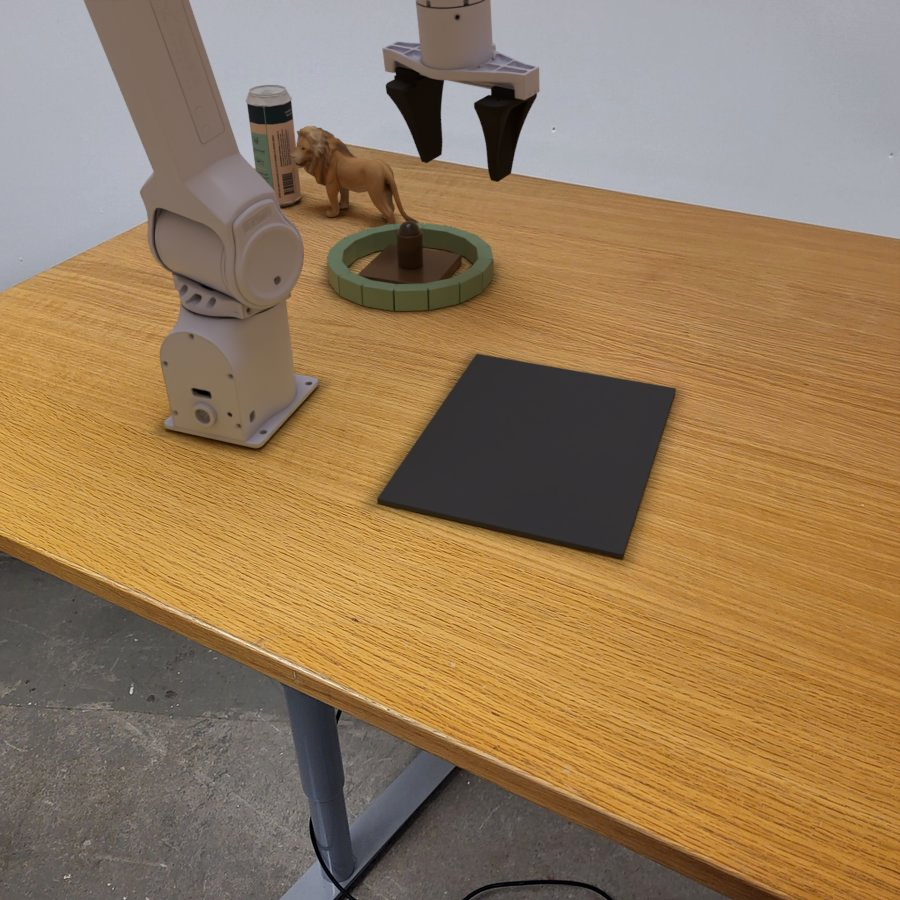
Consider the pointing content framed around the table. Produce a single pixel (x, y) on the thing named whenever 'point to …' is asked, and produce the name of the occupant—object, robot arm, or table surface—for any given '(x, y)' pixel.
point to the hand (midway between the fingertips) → (465, 167)
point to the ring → (410, 294)
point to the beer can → (274, 140)
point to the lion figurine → (346, 172)
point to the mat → (537, 454)
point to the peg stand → (411, 260)
